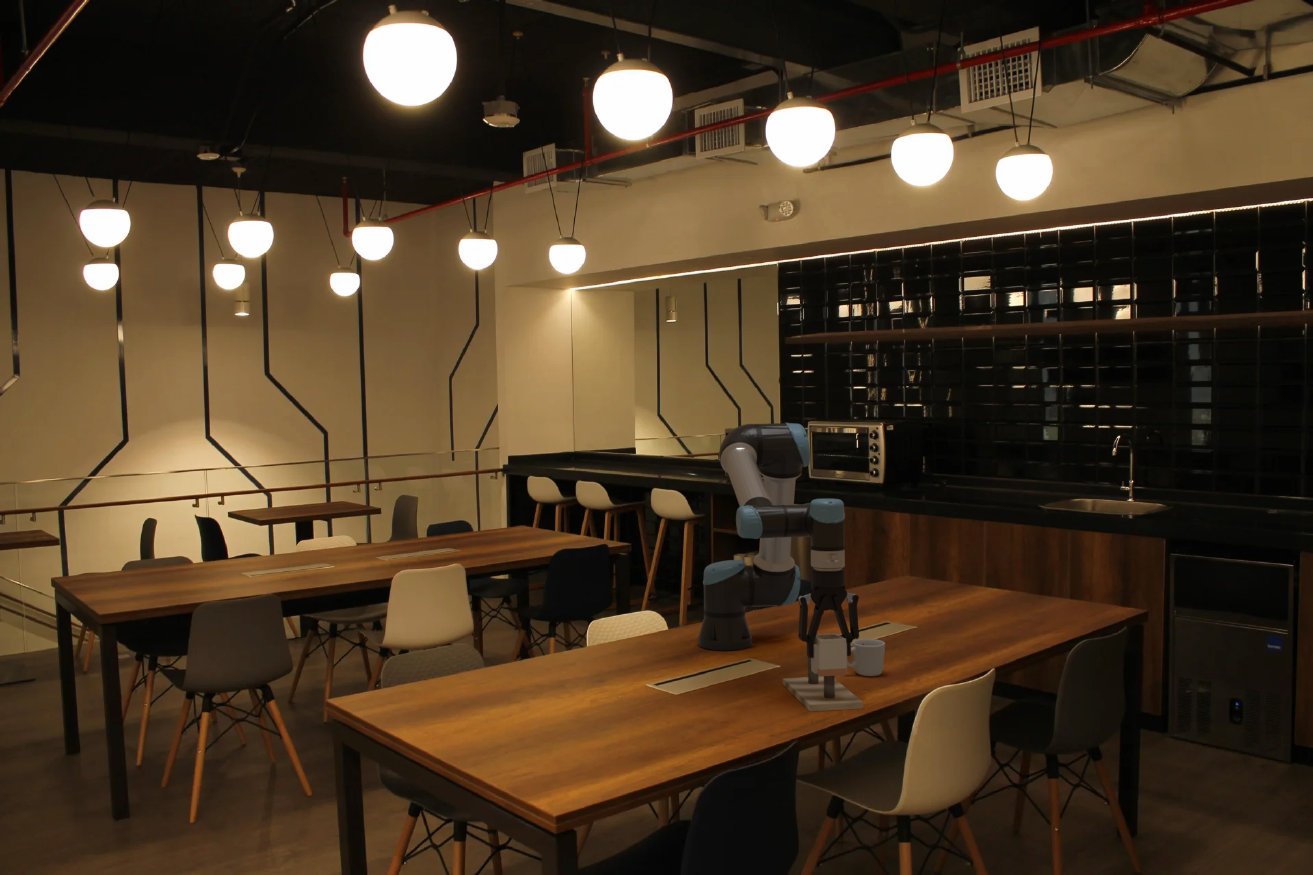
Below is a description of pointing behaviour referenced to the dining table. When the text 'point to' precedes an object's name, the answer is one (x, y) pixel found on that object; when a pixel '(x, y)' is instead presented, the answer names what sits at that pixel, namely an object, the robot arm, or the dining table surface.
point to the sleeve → (831, 654)
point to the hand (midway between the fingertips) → (829, 670)
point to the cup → (868, 656)
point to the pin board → (821, 692)
